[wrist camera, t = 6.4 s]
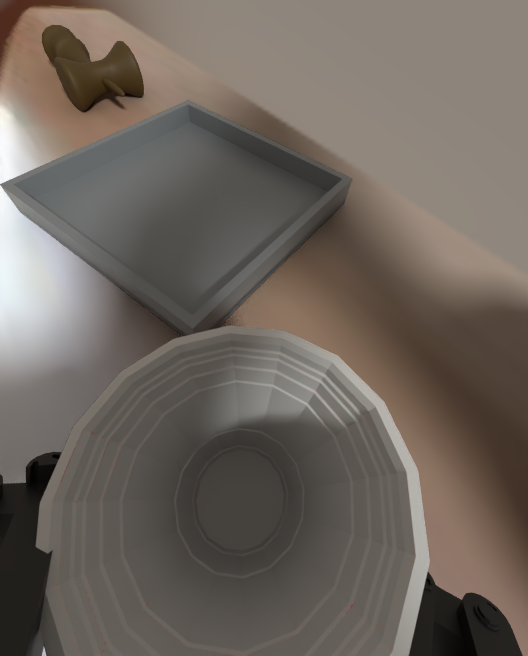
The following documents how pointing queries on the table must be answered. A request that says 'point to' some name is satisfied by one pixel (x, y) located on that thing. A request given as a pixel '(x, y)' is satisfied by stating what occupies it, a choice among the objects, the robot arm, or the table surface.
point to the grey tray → (182, 211)
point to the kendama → (91, 68)
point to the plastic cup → (234, 509)
